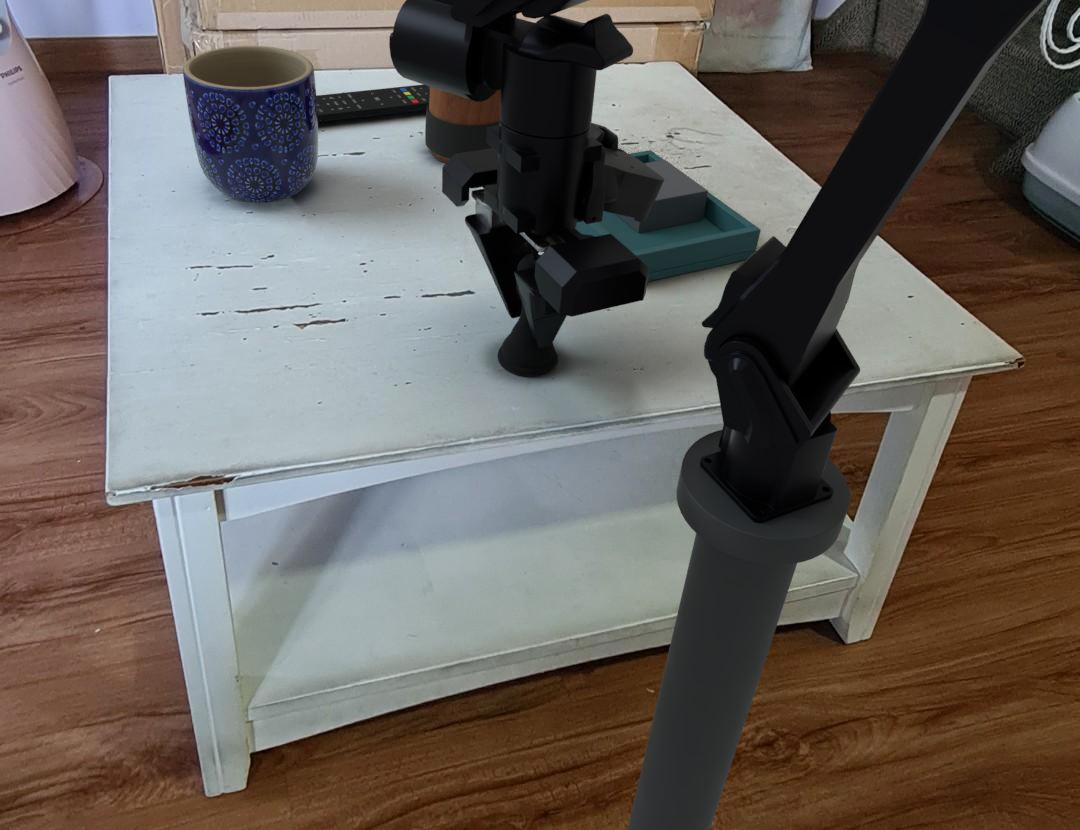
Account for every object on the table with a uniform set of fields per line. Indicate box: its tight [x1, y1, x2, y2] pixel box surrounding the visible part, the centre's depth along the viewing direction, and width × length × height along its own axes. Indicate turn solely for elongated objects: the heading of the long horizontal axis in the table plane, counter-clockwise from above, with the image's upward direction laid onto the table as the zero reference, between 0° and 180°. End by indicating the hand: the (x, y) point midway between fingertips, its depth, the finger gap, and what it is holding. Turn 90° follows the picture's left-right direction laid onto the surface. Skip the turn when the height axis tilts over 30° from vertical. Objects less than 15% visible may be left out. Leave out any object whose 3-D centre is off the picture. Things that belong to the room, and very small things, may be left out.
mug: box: [424, 87, 501, 164], centre depth 98 cm, size 9×12×12 cm
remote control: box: [316, 84, 430, 123], centre depth 107 cm, size 5×24×1 cm, turn 116°
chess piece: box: [497, 241, 559, 377], centre depth 70 cm, size 4×4×10 cm
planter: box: [182, 45, 319, 204], centre depth 89 cm, size 11×11×11 cm
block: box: [616, 159, 709, 233], centre depth 91 cm, size 7×7×3 cm
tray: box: [575, 149, 761, 283], centre depth 90 cm, size 18×14×3 cm
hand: (529, 330), depth 72 cm, fingers open, 4 cm apart
